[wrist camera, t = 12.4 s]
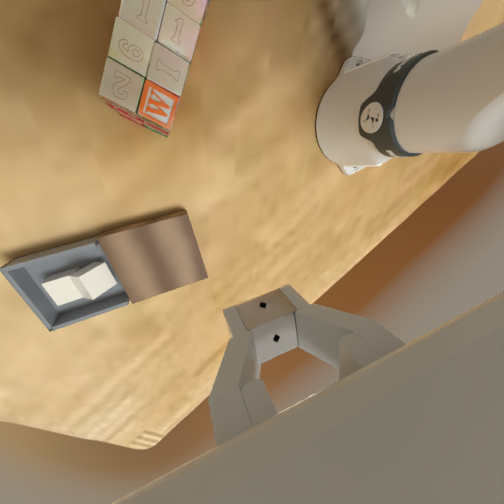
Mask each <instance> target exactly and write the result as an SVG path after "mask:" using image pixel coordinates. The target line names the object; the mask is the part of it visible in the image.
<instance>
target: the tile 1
mask: <svg viewBox="0 0 504 504" xmlns="http://www.w3.org/2000/svg"><path fill="white" fill-rule="evenodd" d="M78 270H80V268H79V267H77V268H74V269H70V270H67V271H64V272H60V273H57V274H54V275H51V276H49V277H48V278H47V279H46V280H45V281H44V282H43V283H42V284H41V285H42V286H43V287H44V289H45V290H46V291H47V292H48V294H49V295H50V296H51V298H52V299H53V300H54V302H55V303H56V304H57V305H58V306H59V305H62V304H65V303H68V302H71V301H74V300H77V299H80V298H83V297H82V295H81V294H80V292H79V291H78V289H77V288H76V286H75V285H74V283H73V282H72V280H71V279H70V277H69V275H71V274H73V273H75V272H77V271H78Z"/></svg>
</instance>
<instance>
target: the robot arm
mask: <svg viewBox="0 0 504 504" xmlns="http://www.w3.org/2000/svg"><path fill="white" fill-rule="evenodd" d="M356 66H357V67H356ZM316 133H317V139H318V143H319V145H320V148H321V150H322V152H323V153H324V155H325V156H326V157H327V158H328V159H329V160H331V161H332V162H334V163H336V164H337V165H338V166H339V167H340V169H341V171H342V172H343V173H344V174H345V175H351V174H353V173H355V172H357V171H359V170H361V169H363V168H365V167H374V166H381V165H382V163H384V162H387V161H388V160H390V159H391V158H393V157H397V158H406V157H410V156H418V155H420V154H422V153H456V152H476V151H480V150H483V149H486V148H489V147H492V146H494V145H497V144H498V143H501V142H503V141H504V22H502V23H501V24H499V25H496V26H494V27H492V28H490V29H488V30H486V31H484V32H482V33H480V34H478V35H476V36H473V37H471V38H469V39H467V40H465V41H462V42H460V43H458V44H455V45H453V46H451V47H449V48H446V49H443V50H441V51H438V50H431V51H428V52H425V53H420V54H417V55H414V56H413V55H412V54H407V55H403V56H400V57H399V54H393V55H384V56H382V57H379V58H377V59H374V60H370V59H365V58H360V57H355V56H353V57H350V58H348V59H346V60H345V62H344V64H343V66H342V68H341V71H340V73H339V76H338V77H337V79H336V80H335V81H334V82H333V84H332V85H331V86H330V87H329V88H328V90H327V91H326V93H325V94H324V96H323V98H322V101H321V103H320V106H319V109H318V113H317V120H316ZM353 167H354V168H353ZM223 313H224V317H225V320H226V323H227V326H228V330H229V333H230V336H231V339H229V342H228V345H227V348H226V351H225V354H224V357H223V360H222V362H221V365H220V368H219V371H218V374H217V377H216V380H215V383H214V385H213V388H212V391H211V394H210V397H209V400H208V401H209V406H210V412H211V417H212V423H213V429H214V434H215V439H216V445H217V447H215V448H213V449H212V450H210V451H208V452H206V453H204V454H202V455H200V456H198V457H197V458H195V459H193V460H191V461H189V462H187V463H185V464H184V465H182V466H180V467H178V468H176V469H174V470H173V471H171V472H169V473H167V474H165V475H163V476H161V477H160V478H158V479H156V480H154V481H152V482H150V483H149V484H147V485H145V486H143V487H141V488H139V489H138V490H136V491H134V492H132V493H130V494H128V495H126V496H125V497H123V498H121V499H119V500H117V501H115V502H114V503H111V504H504V291H503V292H502V293H500V294H498V295H496V296H494V297H492V298H491V299H489V300H487V301H485V302H483V303H481V304H480V305H478V306H476V307H474V308H472V309H470V310H468V311H466V312H465V313H463V314H461V315H459V316H457V317H455V318H454V319H452V320H450V321H448V322H446V323H444V324H442V325H441V326H439V327H437V328H435V329H433V330H431V331H429V332H428V333H426V334H424V335H422V336H420V337H418V338H417V339H415V340H413V341H411V342H409V343H407V344H405V343H404V342H402V341H401V340H400V339H398V338H397V337H396V336H394V335H393V334H392V333H391V332H389V331H388V330H387V329H385V328H384V327H383V326H381V325H380V324H379V323H377V322H376V321H375V320H372V319H368V318H364V317H361V316H357V315H353V314H350V313H346V312H342V311H339V310H335V309H331V308H328V307H324V306H320V305H316V304H311V305H310V304H309V303H308V302H307V301H306V300H305V299H304V298H303V297H302V296H301V295H300V294H299V293H298V292H297V291H296V290H295V289H294V288H293V287H291V286H290V285H289V284H287V285H285V286H282V287H280V288H278V289H276V290H273V291H271V292H268V293H266V294H263V295H261V296H258V297H255V298H252V299H250V300H247V301H244V302H241V303H239V304H236V305H235V306H234V305H233V306H231V307H228V308H225V309H223ZM298 346H299V348H301V349H303V350H305V351H307V352H308V353H310V354H313V355H314V356H316V357H318V358H320V359H321V360H323V361H325V362H327V363H329V364H331V365H332V366H335V367H336V368H338V369H339V381H337V382H335V383H334V384H332V385H330V386H328V387H326V388H324V389H323V390H320V391H319V392H317V393H315V394H313V395H311V396H309V397H308V398H306V399H304V400H302V401H300V402H298V403H297V404H295V405H293V406H291V407H289V408H287V409H285V410H284V411H282V412H280V413H277V411H276V408H275V406H274V404H273V402H272V400H271V397H270V395H269V393H268V391H267V389H266V387H265V385H264V382H263V380H261V379H259V375H260V367H261V365H260V364H262V363H264V362H266V361H268V360H270V359H272V358H274V357H276V356H278V355H280V354H282V353H285V352H287V351H289V350H292V349H294V348H296V347H298Z"/></svg>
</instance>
